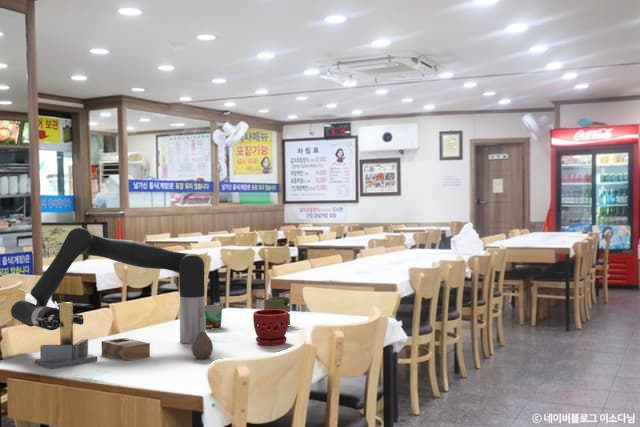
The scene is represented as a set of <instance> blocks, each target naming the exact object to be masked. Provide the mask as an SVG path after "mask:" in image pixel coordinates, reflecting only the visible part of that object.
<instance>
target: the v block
mask: <svg viewBox="0 0 640 427" xmlns="http://www.w3.org/2000/svg"><path fill="white" fill-rule="evenodd" d="M39 351H40V358H35V359H34V365H36V364H37V366H38V367H42V368H46V369H49V370H52V369H58V368H59V369H60V368H64V367H65V368H66V367H70V366H76V365H81V364H87V363H93V362H98V356H97V355H94V354H90V353H89V339H88V338H83V339H80V340H79V341H77V342H76V343H73V345H60V344H42V345H40V349H39Z"/></svg>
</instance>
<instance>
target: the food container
mask: <svg viewBox="0 0 640 427" xmlns="http://www.w3.org/2000/svg"><path fill="white" fill-rule="evenodd" d="M223 310H224V305H223V303H222V302H218V301H217V302H213V304H209V305H205V316H206V330H213V329H212V328H217V329H220V328H219V327H221V328H222V317H223V316H222V314H223Z"/></svg>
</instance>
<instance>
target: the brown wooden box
mask: <svg viewBox="0 0 640 427" xmlns="http://www.w3.org/2000/svg"><path fill="white" fill-rule="evenodd" d="M150 347H151V344H150V342H145V341H142V340H137V339H133V338H129V337H120V338H113V339H106V340H101V355H103V354H104V355H103V356H107V355H108V356H107V357H110V356H111V358H115V359H118V360H119V359H120V360H122V361H133V360H137V359H143V358H149V357H150V356H151V350H150V349H151V348H150Z"/></svg>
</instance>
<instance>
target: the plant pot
mask: <svg viewBox="0 0 640 427" xmlns="http://www.w3.org/2000/svg"><path fill="white" fill-rule="evenodd" d="M288 314H289V312H288V311H286V310H281V309H265V310H264V309H259V310H256V311H254V312H253V315H252V316H253V317H252V318H253V321H252V322H253V327H254V328H253V329H254V331H255V334H256V337H255V341H256V342H257V344H259V345H262V344H263V346H278V345H283V344H284V343H285V342H286V341H287V336H286V334H287V331H288V329H289V327H288ZM277 321H278V323H276V322H277Z"/></svg>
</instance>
